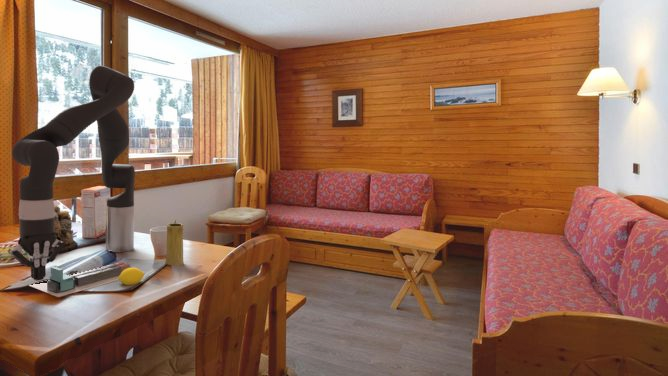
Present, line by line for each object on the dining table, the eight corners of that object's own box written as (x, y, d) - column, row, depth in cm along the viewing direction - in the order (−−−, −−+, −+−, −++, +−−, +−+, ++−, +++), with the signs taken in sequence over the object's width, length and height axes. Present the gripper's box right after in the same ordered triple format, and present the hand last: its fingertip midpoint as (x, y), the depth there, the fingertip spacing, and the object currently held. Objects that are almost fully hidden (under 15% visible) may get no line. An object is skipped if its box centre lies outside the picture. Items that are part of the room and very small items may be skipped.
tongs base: (56, 293, 109) (56, 283, 108) (47, 290, 111) (47, 280, 110) (130, 272, 128) (130, 264, 128) (121, 270, 130) (121, 261, 130)
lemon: (118, 290, 116) (115, 272, 116) (122, 283, 122) (119, 266, 121) (144, 286, 118) (141, 268, 118) (146, 279, 123) (144, 263, 123)
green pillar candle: (177, 267, 138) (177, 227, 136) (161, 265, 139) (162, 225, 137) (187, 262, 144) (187, 224, 142) (171, 260, 145) (172, 222, 143)
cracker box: (97, 231, 182) (97, 185, 179) (111, 231, 182) (111, 186, 180) (80, 238, 168) (80, 189, 165) (95, 238, 168) (95, 189, 166)
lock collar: (61, 291, 109) (60, 270, 108) (49, 286, 112) (49, 266, 111) (73, 288, 112) (73, 268, 111) (61, 283, 114) (61, 264, 114)
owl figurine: (63, 256, 143) (62, 209, 141) (26, 256, 140) (24, 209, 138) (83, 243, 160) (83, 201, 158) (50, 243, 158) (49, 201, 156)
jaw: (73, 284, 115) (73, 276, 115) (70, 283, 116) (69, 274, 116) (124, 270, 129) (125, 263, 129) (121, 269, 130) (121, 262, 130)
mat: (28, 287, 113) (28, 285, 113) (112, 265, 135) (112, 264, 135) (58, 299, 106) (58, 297, 106) (141, 274, 129) (141, 273, 128)
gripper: (15, 221, 97) (16, 289, 99) (71, 214, 109) (72, 275, 111) (-1, 217, 100) (1, 283, 102) (56, 210, 112) (57, 270, 114)
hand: (38, 279), depth 107 cm, fingers closed
